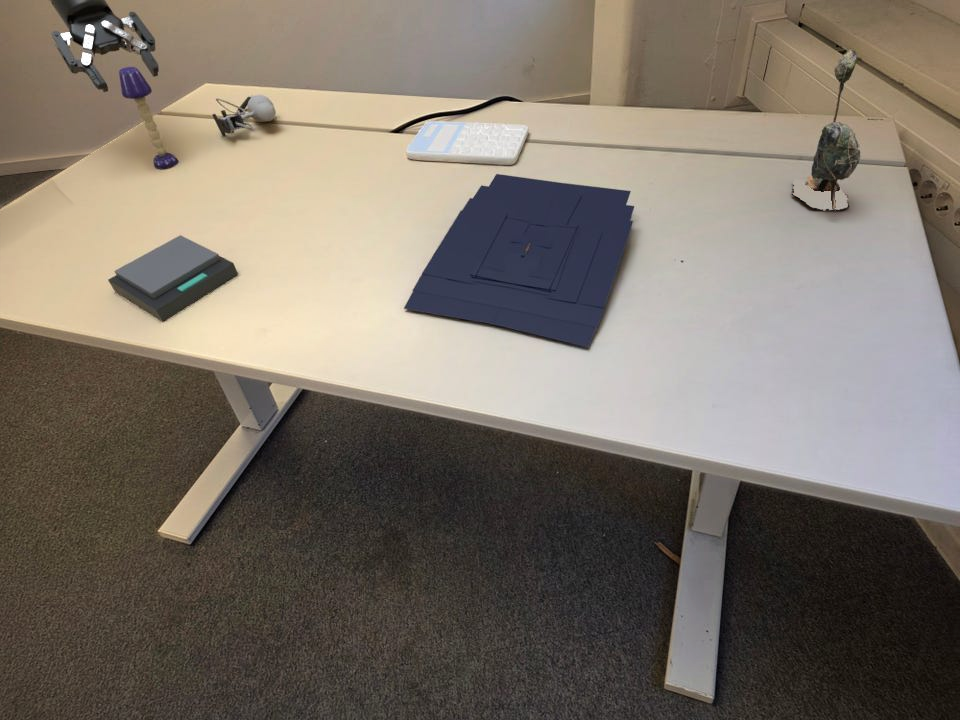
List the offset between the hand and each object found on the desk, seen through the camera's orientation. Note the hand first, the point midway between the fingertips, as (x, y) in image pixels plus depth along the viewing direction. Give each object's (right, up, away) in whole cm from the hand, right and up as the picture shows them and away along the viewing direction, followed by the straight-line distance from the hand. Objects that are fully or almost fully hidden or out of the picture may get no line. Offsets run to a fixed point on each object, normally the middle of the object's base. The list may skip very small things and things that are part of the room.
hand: (131, 81), depth 102 cm
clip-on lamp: (+12, +1, +21) cm, 24 cm away
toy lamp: (+1, -11, +10) cm, 15 cm away
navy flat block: (+66, -34, -19) cm, 76 cm away
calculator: (+57, -9, +8) cm, 58 cm away
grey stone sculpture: (+109, -24, -13) cm, 112 cm away
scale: (+16, -36, -18) cm, 43 cm away
